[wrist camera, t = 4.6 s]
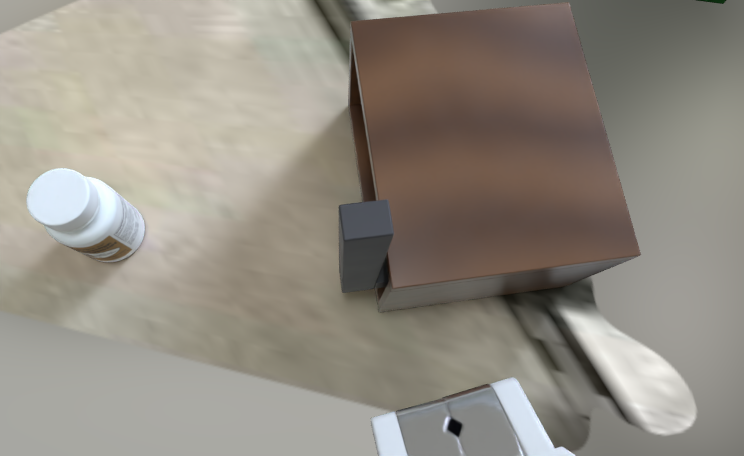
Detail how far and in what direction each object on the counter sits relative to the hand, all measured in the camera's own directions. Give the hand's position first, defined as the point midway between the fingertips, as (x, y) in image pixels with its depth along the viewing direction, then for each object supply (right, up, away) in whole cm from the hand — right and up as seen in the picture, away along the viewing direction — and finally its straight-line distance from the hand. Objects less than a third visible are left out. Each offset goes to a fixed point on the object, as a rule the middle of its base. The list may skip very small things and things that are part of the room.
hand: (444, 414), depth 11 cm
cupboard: (+5, +7, +29) cm, 30 cm away
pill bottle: (-19, +3, +27) cm, 33 cm away
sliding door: (-2, +2, +26) cm, 26 cm away
